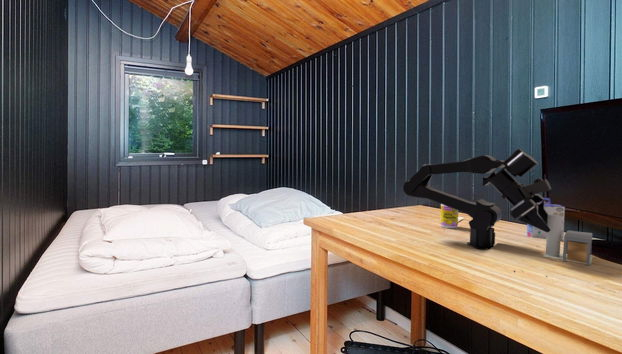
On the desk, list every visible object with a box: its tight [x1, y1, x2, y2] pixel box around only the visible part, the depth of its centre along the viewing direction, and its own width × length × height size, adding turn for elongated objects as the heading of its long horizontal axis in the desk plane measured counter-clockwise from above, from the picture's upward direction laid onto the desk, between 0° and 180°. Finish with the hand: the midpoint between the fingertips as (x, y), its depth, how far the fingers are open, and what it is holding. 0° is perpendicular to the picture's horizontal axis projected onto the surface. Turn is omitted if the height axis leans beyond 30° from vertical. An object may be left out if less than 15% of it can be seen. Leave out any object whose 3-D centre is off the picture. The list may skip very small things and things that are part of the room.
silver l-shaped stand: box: [543, 215, 593, 265], centre depth 89 cm, size 10×6×12 cm, turn 47°
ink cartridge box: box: [526, 197, 566, 242], centre depth 113 cm, size 10×6×14 cm, turn 79°
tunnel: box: [562, 229, 594, 267], centre depth 88 cm, size 5×9×8 cm, turn 137°
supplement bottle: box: [439, 204, 459, 229], centre depth 133 cm, size 7×7×13 cm
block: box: [566, 241, 588, 263], centre depth 88 cm, size 4×4×5 cm
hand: (551, 228), depth 92 cm, fingers open, 9 cm apart
